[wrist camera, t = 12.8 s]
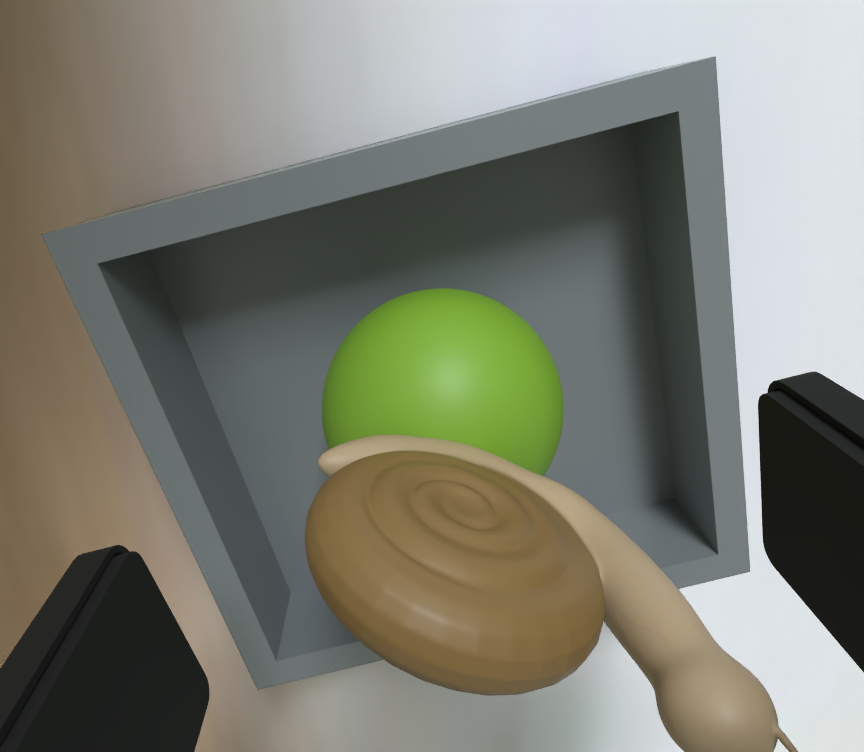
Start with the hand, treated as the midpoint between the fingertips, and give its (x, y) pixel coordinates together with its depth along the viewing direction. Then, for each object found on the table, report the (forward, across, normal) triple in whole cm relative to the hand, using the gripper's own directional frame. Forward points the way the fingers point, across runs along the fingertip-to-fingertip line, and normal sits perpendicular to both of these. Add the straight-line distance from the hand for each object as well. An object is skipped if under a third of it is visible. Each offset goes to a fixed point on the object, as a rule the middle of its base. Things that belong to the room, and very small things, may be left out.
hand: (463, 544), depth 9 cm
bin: (+9, 0, +1) cm, 9 cm away
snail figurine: (+8, 0, +1) cm, 8 cm away
